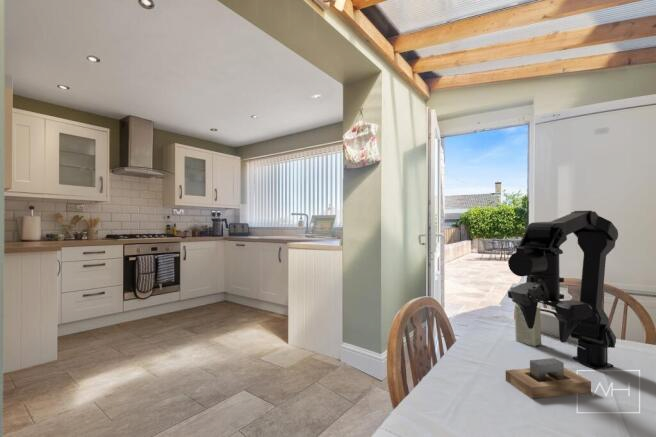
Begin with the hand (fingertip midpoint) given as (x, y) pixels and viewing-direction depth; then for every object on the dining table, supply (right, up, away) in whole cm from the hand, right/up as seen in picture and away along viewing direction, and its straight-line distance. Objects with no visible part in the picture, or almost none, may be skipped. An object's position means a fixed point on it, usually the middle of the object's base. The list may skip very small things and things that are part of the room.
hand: (545, 334), depth 76 cm
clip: (-1, -12, -2) cm, 12 cm away
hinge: (+25, -12, +32) cm, 42 cm away
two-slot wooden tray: (-1, -12, -2) cm, 12 cm away
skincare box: (+12, -12, +24) cm, 30 cm away
